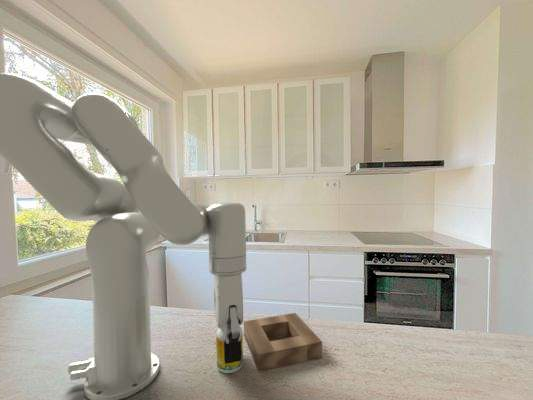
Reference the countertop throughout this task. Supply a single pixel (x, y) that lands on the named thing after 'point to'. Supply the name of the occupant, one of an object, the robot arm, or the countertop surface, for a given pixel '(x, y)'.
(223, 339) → the supplement bottle
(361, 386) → the countertop surface
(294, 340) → the socket block
